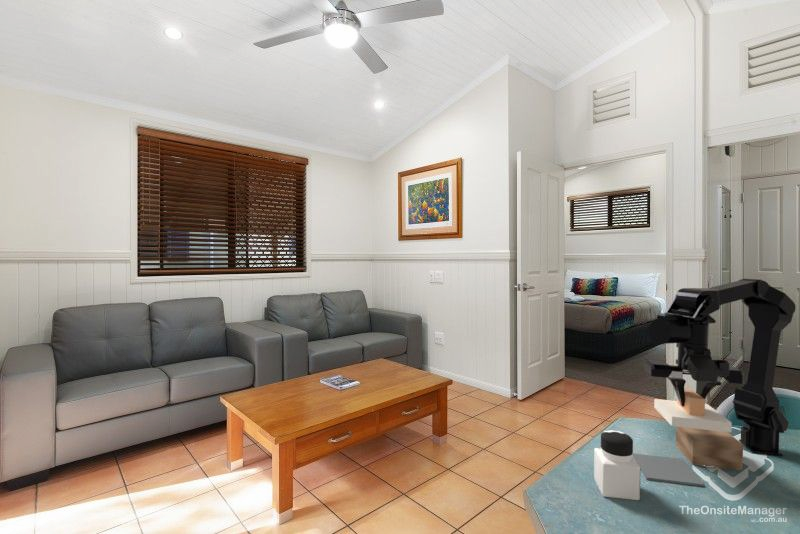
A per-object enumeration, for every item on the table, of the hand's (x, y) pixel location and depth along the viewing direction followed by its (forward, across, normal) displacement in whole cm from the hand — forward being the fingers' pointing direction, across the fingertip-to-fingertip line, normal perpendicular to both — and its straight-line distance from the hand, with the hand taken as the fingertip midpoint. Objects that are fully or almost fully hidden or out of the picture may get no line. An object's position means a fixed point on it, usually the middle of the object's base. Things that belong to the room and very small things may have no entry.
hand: (690, 406), depth 97 cm
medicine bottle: (+14, -19, -16) cm, 29 cm away
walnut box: (+13, +6, +4) cm, 15 cm away
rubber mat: (+14, -6, -5) cm, 16 cm away
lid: (+2, 0, 0) cm, 2 cm away
